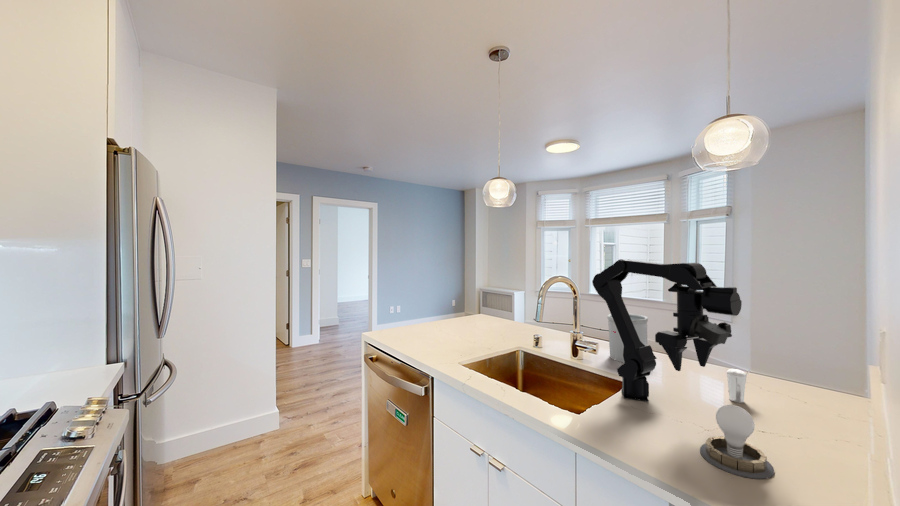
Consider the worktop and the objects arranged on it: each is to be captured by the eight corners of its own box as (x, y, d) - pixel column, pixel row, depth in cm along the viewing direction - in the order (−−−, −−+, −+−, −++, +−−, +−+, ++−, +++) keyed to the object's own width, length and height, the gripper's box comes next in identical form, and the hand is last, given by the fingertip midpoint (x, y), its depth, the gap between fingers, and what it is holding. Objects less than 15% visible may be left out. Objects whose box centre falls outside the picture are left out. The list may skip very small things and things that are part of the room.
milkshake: (745, 406, 97) (745, 371, 97) (723, 399, 102) (723, 365, 102) (753, 403, 100) (753, 368, 99) (731, 396, 104) (731, 363, 104)
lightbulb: (748, 453, 74) (748, 402, 74) (760, 470, 69) (759, 415, 69) (712, 446, 77) (712, 397, 77) (720, 462, 71) (720, 409, 71)
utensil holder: (614, 363, 135) (613, 319, 135) (603, 352, 150) (603, 312, 150) (654, 365, 133) (654, 320, 133) (639, 353, 148) (639, 313, 147)
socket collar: (716, 467, 70) (716, 457, 70) (700, 442, 79) (700, 433, 79) (776, 477, 66) (776, 467, 66) (752, 450, 75) (752, 441, 75)
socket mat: (711, 471, 69) (711, 469, 69) (692, 440, 80) (692, 438, 80) (787, 484, 65) (787, 482, 65) (756, 450, 76) (756, 448, 76)
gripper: (695, 317, 81) (696, 384, 81) (747, 312, 87) (748, 374, 87) (653, 310, 91) (654, 369, 91) (702, 306, 97) (702, 361, 97)
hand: (690, 368), depth 91 cm, fingers open, 9 cm apart
